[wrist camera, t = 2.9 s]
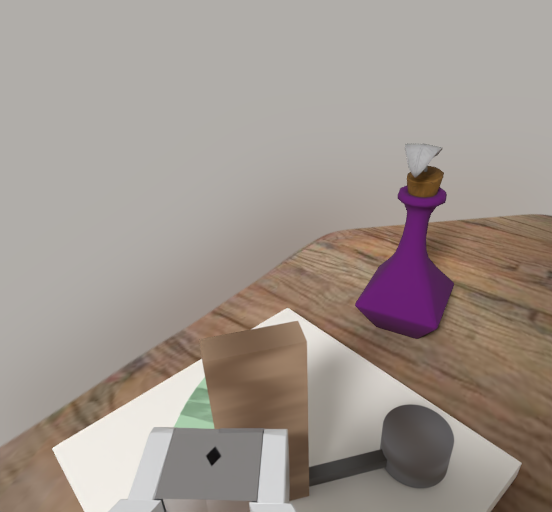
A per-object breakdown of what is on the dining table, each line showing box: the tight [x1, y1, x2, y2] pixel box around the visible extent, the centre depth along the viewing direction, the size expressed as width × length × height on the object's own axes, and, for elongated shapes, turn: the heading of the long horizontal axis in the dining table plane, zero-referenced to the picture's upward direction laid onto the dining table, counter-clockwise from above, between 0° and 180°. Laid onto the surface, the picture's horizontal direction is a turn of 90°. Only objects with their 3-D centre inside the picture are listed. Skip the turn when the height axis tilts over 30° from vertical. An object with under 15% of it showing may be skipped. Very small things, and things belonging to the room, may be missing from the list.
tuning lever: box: [199, 321, 454, 501], centre depth 26 cm, size 18×4×13 cm, turn 103°
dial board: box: [52, 308, 522, 512], centre depth 32 cm, size 23×23×2 cm
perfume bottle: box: [355, 144, 454, 339], centre depth 40 cm, size 8×8×18 cm
